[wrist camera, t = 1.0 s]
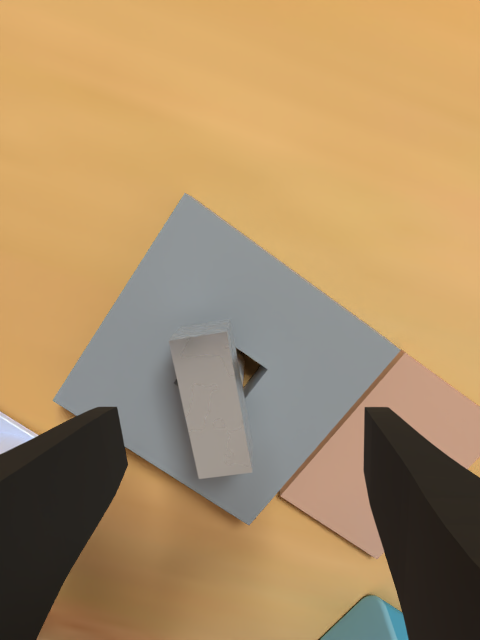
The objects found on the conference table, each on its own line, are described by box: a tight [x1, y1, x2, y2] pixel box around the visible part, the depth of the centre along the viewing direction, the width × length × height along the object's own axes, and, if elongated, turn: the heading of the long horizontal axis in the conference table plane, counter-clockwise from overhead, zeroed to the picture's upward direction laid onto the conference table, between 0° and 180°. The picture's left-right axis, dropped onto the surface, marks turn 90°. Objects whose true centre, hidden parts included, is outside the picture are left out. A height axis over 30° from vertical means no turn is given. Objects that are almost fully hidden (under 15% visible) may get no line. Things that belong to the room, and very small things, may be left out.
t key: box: [169, 319, 253, 479], centre depth 20 cm, size 7×3×6 cm, turn 9°
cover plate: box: [53, 193, 401, 525], centre depth 22 cm, size 14×14×2 cm
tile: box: [280, 350, 480, 559], centre depth 24 cm, size 12×8×1 cm, turn 144°
